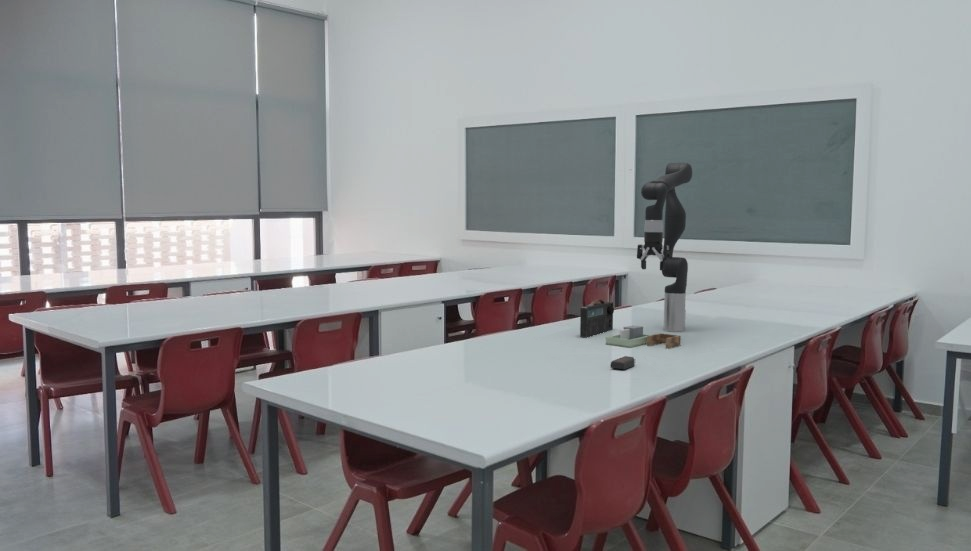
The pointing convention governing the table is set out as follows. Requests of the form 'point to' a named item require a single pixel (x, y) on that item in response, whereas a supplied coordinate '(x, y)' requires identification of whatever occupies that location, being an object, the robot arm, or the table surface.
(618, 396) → the table surface
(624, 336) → the grey block with stick
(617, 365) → the usb drive
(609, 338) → the tray
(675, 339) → the u-shaped wooden frame
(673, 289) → the robot arm
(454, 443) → the table surface
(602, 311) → the radio
